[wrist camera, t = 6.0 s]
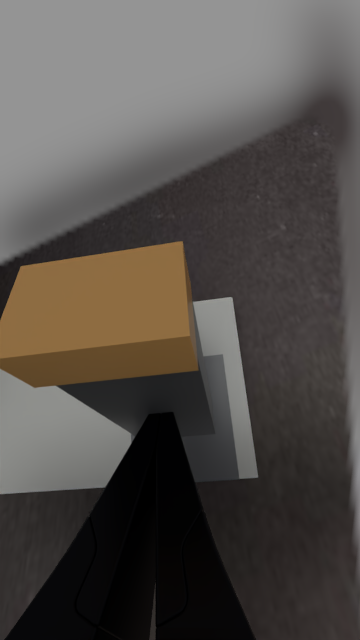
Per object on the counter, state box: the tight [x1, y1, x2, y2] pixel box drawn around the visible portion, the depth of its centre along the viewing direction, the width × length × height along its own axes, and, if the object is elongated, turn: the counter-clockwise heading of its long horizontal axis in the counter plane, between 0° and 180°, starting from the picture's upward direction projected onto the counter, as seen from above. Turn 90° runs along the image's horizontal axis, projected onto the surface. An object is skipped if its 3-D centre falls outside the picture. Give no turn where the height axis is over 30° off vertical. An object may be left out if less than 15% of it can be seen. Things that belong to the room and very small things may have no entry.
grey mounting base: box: [0, 297, 258, 494], centre depth 17 cm, size 9×20×4 cm, turn 96°
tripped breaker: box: [0, 241, 215, 437], centre depth 9 cm, size 2×4×10 cm, turn 96°
